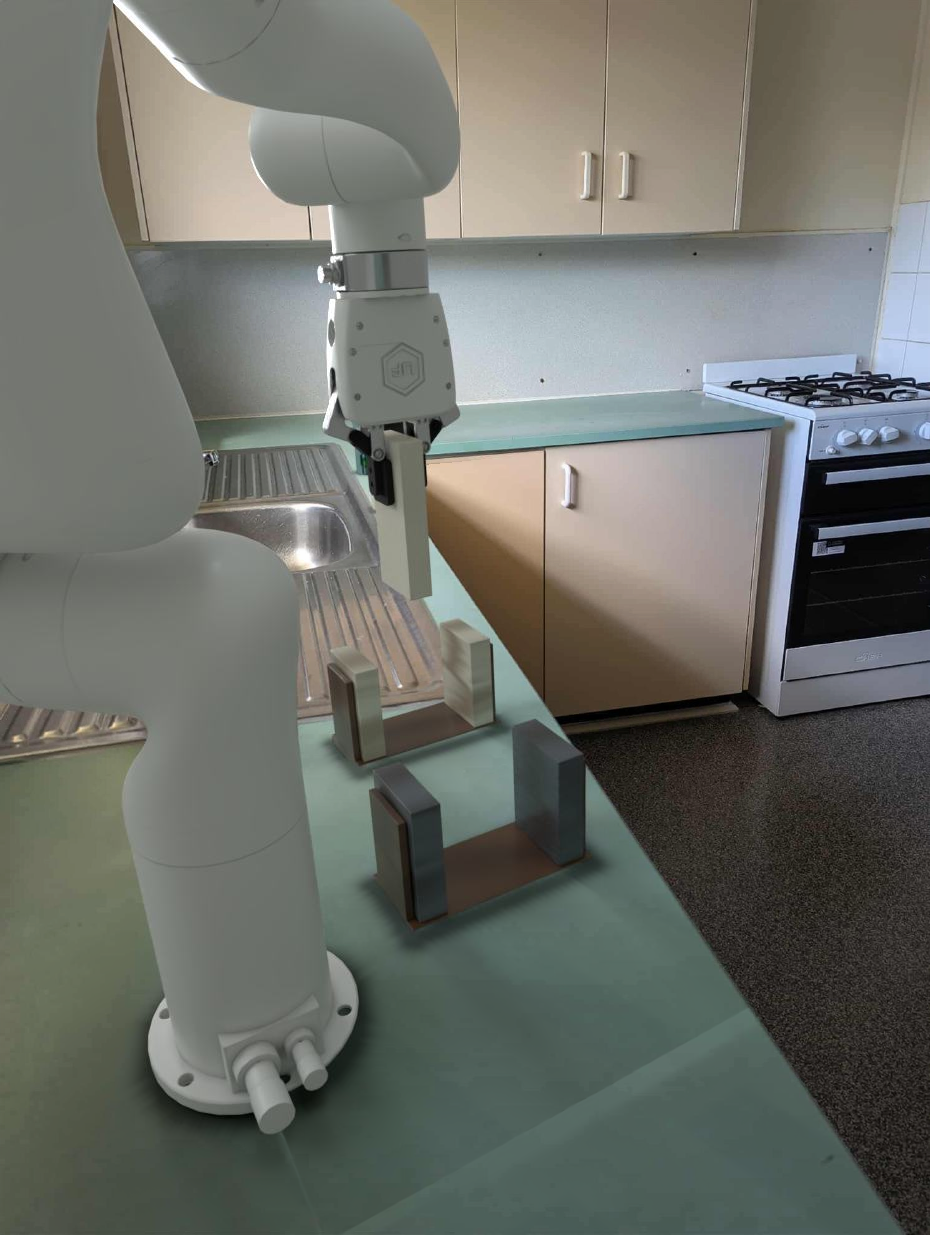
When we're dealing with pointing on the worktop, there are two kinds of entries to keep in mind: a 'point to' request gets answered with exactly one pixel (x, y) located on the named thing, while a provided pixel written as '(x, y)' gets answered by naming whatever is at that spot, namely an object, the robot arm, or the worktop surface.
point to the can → (360, 458)
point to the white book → (405, 521)
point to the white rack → (459, 713)
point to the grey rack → (494, 860)
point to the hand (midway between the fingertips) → (399, 498)
